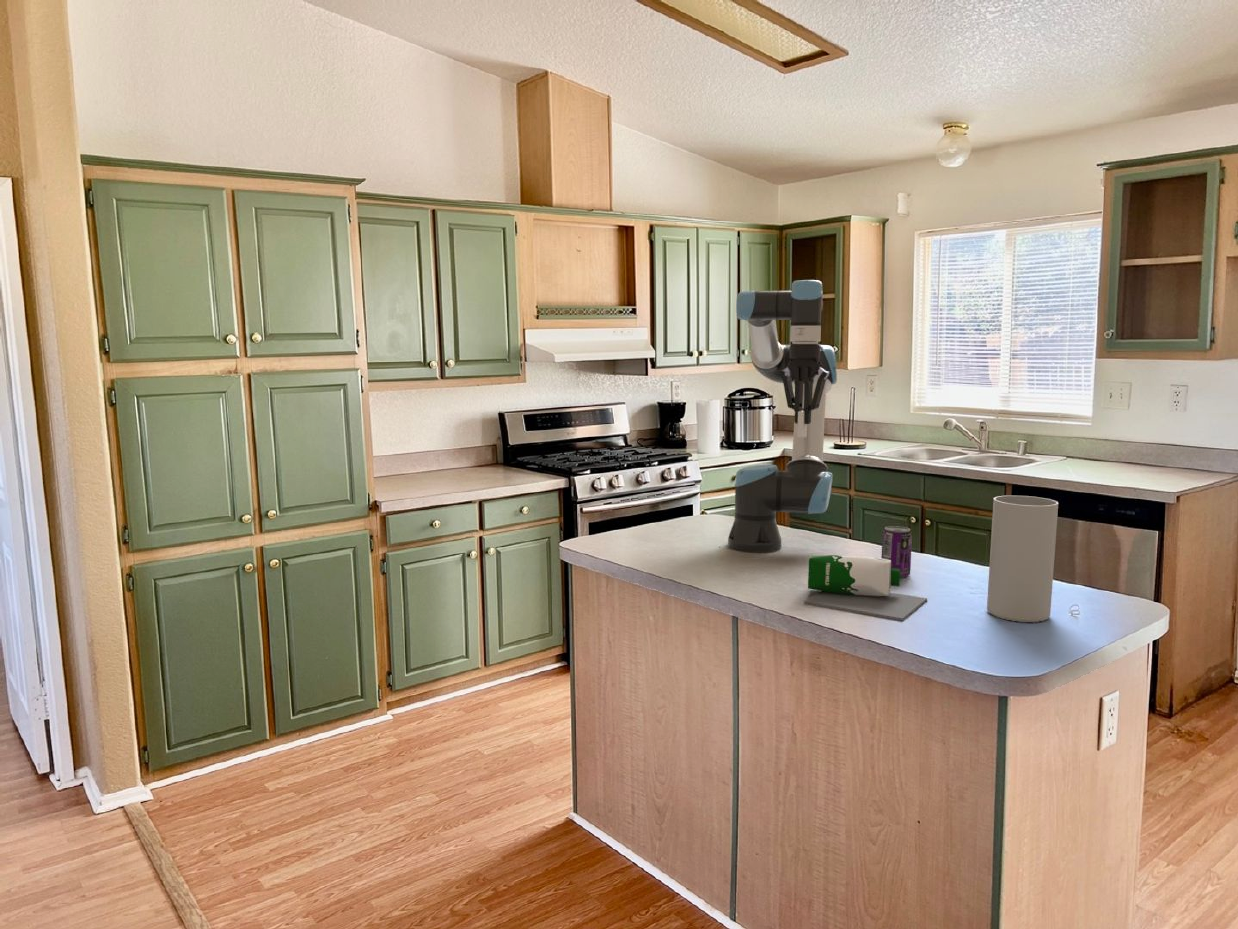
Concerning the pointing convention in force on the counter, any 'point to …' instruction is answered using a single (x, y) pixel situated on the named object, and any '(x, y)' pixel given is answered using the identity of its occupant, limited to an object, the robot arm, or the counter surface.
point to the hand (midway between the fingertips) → (802, 436)
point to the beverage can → (897, 548)
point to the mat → (870, 604)
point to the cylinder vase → (1022, 558)
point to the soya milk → (852, 575)
